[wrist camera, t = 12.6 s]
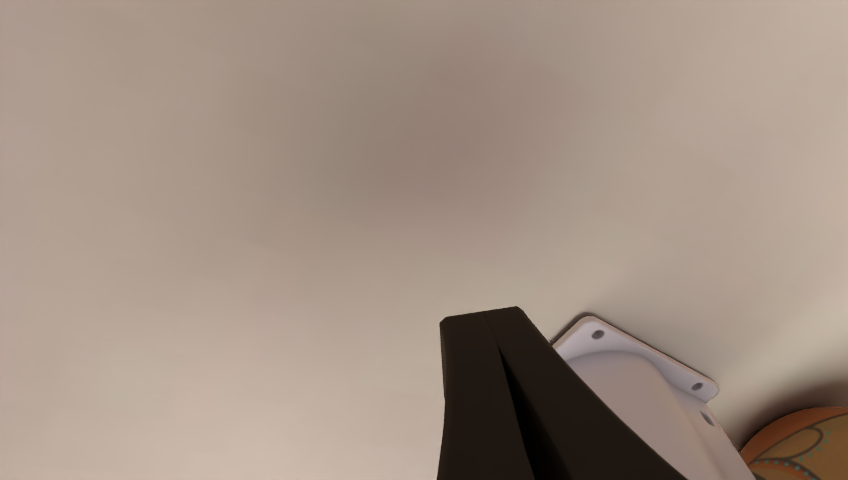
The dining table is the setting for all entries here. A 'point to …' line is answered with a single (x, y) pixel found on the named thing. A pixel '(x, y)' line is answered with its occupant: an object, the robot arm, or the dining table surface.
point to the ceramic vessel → (801, 446)
